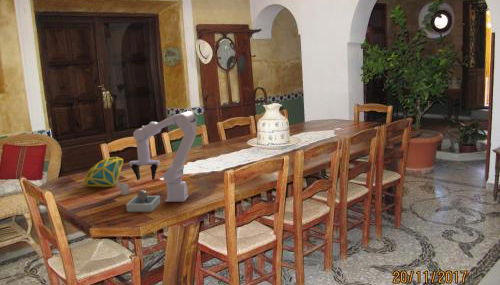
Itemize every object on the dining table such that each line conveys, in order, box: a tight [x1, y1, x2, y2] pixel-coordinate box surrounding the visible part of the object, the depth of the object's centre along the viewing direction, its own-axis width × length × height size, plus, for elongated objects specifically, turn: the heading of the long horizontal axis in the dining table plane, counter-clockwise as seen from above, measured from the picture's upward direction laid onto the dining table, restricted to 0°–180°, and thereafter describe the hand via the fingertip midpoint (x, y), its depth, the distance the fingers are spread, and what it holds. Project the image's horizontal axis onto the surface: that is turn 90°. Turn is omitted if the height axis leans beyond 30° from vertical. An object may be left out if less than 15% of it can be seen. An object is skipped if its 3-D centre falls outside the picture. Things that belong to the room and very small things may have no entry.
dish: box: [125, 195, 161, 213], centre depth 217 cm, size 12×12×4 cm
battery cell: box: [137, 189, 148, 204], centre depth 216 cm, size 4×4×8 cm
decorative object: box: [84, 156, 124, 188], centre depth 253 cm, size 23×23×15 cm
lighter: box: [115, 180, 130, 196], centre depth 237 cm, size 7×2×8 cm, turn 141°
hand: (146, 179), depth 229 cm, fingers open, 7 cm apart
